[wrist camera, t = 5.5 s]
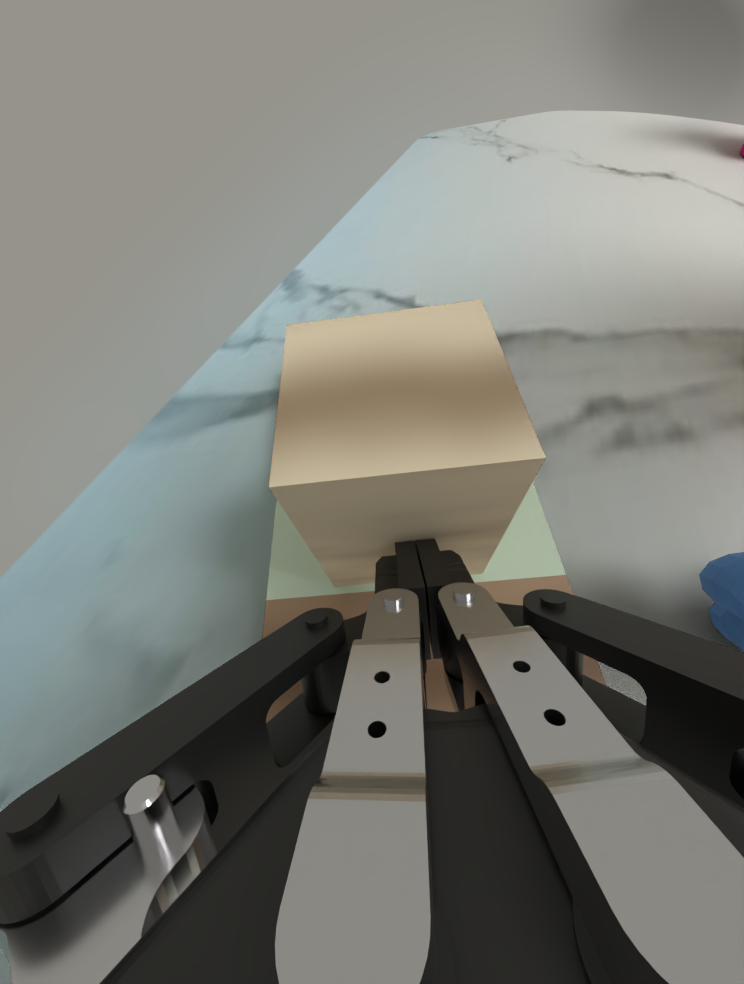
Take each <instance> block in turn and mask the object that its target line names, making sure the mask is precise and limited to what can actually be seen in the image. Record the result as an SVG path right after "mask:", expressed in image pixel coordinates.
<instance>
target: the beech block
mask: <svg viewBox="0 0 744 984" xmlns="http://www.w3.org/2000/svg"><path fill="white" fill-rule="evenodd" d="M545 458H546V457H545V455H544V452H543V450H542V447H541V445H540V442H539V440H538V438H537V435H536V433H535V430H534V428H533V425H532V423H531V420H530V418H529V415H528V413H527V410H526V408H525V406H524V403H523V401H522V398H521V396H520V393H519V391H518V388H517V386H516V383H515V381H514V378H513V376H512V374H511V371H510V369H509V366H508V364H507V361H506V359H505V356H504V354H503V351H502V349H501V346H500V344H499V342H498V339H497V337H496V334H495V332H494V329H493V327H492V324H491V322H490V319H489V317H488V314H487V312H486V310H485V307H484V305H483V302H482V300H474V301H467V302H459V303H451V304H444V305H436V306H428V307H421V308H413V309H406V310H398V311H390V312H383V313H375V314H367V315H360V316H352V317H344V318H337V319H329V320H322V321H314V322H306V323H299V324H291V325H287V328H286V337H285V346H284V355H283V364H282V373H281V382H280V391H279V400H278V409H277V418H276V427H275V436H274V445H273V454H272V463H271V472H270V480H269V489H270V490H271V492H272V493H273V495H274V496H275V498H276V499H277V501H278V502H279V504H280V505H281V507H282V508H283V510H284V511H285V513H286V514H287V516H288V517H289V519H290V520H291V522H292V523H293V525H294V526H295V528H296V529H297V531H298V532H299V534H300V535H301V537H302V538H303V540H304V541H305V543H306V544H307V546H308V547H309V549H310V550H311V552H312V553H313V555H314V556H315V558H316V559H317V561H318V562H319V564H320V566H321V567H322V569H323V570H324V572H325V573H326V575H327V576H328V578H329V579H330V581H331V582H332V584H333V585H334V587H341V586H352V585H363V584H374V583H375V572H376V562H377V561H378V560H379V559H380V558H381V557H382V556H391V555H396V552H395V542H403V541H413V540H414V544H415V540H423V539H434V538H435V540H436V542H437V545H438V547H439V550H440V551H444V550H452V551H454V552H455V553H457V554H459V555H460V557H461V558H462V560H463V563H464V564H465V566H466V568H467V570H468V572H469V573H470V575H473V574H483V572H484V570H485V569H486V567H487V565H488V563H489V561H490V559H491V558H492V556H493V554H494V552H495V550H496V548H497V547H498V545H499V543H500V541H501V539H502V537H503V535H504V534H505V532H506V530H507V528H508V526H509V524H510V523H511V521H512V519H513V517H514V515H515V513H516V512H517V510H518V508H519V506H520V504H521V502H522V501H523V499H524V497H525V495H526V493H527V491H528V489H529V488H530V486H531V484H532V482H533V480H534V478H535V477H536V475H537V473H538V471H539V469H540V467H541V466H542V464H543V462H544V460H545ZM415 548H416V547H415Z"/></svg>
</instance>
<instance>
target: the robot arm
mask: <svg viewBox="0 0 744 984" xmlns="http://www.w3.org/2000/svg"><path fill="white" fill-rule="evenodd" d="M415 547H416V548H415ZM395 552H396V555H391V556H382V557H381V558H380V559H379V560H378V561H377V562H376V572H375V595H373V596H372V597H371V599H370V601H369V604H368V609H367V611H366V612H365V613H363V614H361V615H359V616H356V617H353V618H350V619H346V620H343V616H342V614H341V613H340V612H339V611H338V610H336V609H333V608H316V609H312V610H309V611H307V612H304V613H302V614H301V615H299V616H298V617H296V618H294V619H293V620H291V621H290V622H288V623H287V624H285V625H284V626H282V627H281V628H279V629H277V630H276V631H274V632H273V633H271V634H270V635H268V636H267V637H265V638H263V639H262V640H260V641H259V642H257V643H256V644H254V645H253V646H251V647H250V648H248V649H246V650H245V651H243V652H242V653H240V654H239V655H237V656H236V657H234V658H233V659H231V660H229V661H228V662H226V663H225V664H223V665H222V666H220V667H219V668H217V669H215V670H214V671H212V672H211V673H209V674H208V675H206V676H205V677H203V678H202V679H200V680H198V681H197V682H195V683H194V684H192V685H191V686H189V687H188V688H186V689H185V690H183V691H181V692H180V693H178V694H177V695H175V696H174V697H172V698H171V699H169V700H167V701H166V702H164V703H163V704H161V705H160V706H158V707H157V708H155V709H154V710H152V711H150V712H149V713H147V714H146V715H144V716H143V717H141V718H140V719H138V720H137V721H135V722H133V723H132V724H130V725H129V726H127V727H126V728H124V729H123V730H121V731H119V732H118V733H116V734H115V735H113V736H112V737H110V738H109V739H107V740H106V741H104V742H102V743H101V744H99V745H98V746H96V747H95V748H93V749H92V750H90V751H89V752H87V753H85V754H84V755H82V756H81V757H79V758H78V759H76V760H75V761H73V762H71V763H70V764H68V765H67V766H65V767H64V768H62V769H61V770H59V771H58V772H56V773H54V774H53V775H51V776H50V777H48V778H47V779H45V780H44V781H42V782H41V783H39V784H37V785H36V786H34V787H33V788H31V789H30V790H28V791H27V792H25V793H24V794H22V795H21V796H20V797H18V798H17V799H16V800H14V801H13V802H12V803H11V804H9V805H8V806H7V807H6V808H5V809H4V810H3V811H1V812H0V947H1V949H2V950H3V952H4V954H5V956H6V958H7V960H8V962H9V963H10V968H11V978H12V984H744V653H743V652H740V651H737V650H734V649H731V648H728V647H725V646H722V645H719V644H716V643H713V642H710V641H707V640H705V639H702V638H699V637H696V636H693V635H690V634H687V633H684V632H681V631H678V630H675V629H672V628H669V627H666V626H663V625H660V624H657V623H654V622H651V621H649V620H646V619H643V618H640V617H637V616H634V615H631V614H628V613H625V612H622V611H619V610H616V609H613V608H610V607H607V606H604V605H601V604H598V603H595V602H593V601H590V600H587V599H584V598H581V597H578V596H575V595H572V594H569V593H566V592H563V591H558V590H552V589H539V590H534V591H531V592H529V593H527V594H526V595H525V596H524V597H523V606H522V605H512V604H503V603H499V602H495V600H494V599H493V598H492V596H491V595H490V593H489V592H488V591H487V590H486V589H485V588H483V587H482V586H479V585H477V584H475V583H474V581H473V579H472V577H471V575H470V573H469V572H468V570H467V568H466V566H465V564H464V563H463V560H462V558H461V557H460V555H459V554H457V553H455V552H454V551H452V550H444V551H440V550H439V547H438V545H437V542H436V540H435V538H434V539H423V540H415V544H414V540H413V541H403V542H395ZM430 644H431V649H432V654H433V659H441V658H442V660H443V666H444V679H445V683H446V686H447V689H448V692H449V695H450V698H451V701H452V704H453V707H454V710H455V712H447V711H440V710H434V709H428V706H427V690H426V677H425V674H426V671H427V663H426V660H430V659H431V651H430ZM584 655H586V656H588V657H590V658H593V659H595V660H597V661H599V662H601V663H603V664H606V665H608V666H610V667H612V668H614V669H617V670H619V671H621V672H623V673H625V674H627V675H629V676H631V677H632V678H634V679H635V680H636V681H637V682H638V683H639V684H640V685H641V686H642V687H643V689H644V691H645V693H646V696H647V703H646V706H645V705H643V704H641V703H639V702H637V701H635V700H633V699H631V698H629V697H627V696H625V695H623V694H621V693H619V692H617V691H615V690H613V689H611V688H609V687H607V686H605V685H603V684H601V683H599V682H597V681H595V680H593V679H591V678H589V677H587V676H585V675H583V657H584ZM300 680H301V684H302V689H303V692H302V693H301V694H300V695H299V696H298V697H296V698H295V699H294V700H293V701H292V702H291V703H289V704H288V705H287V706H286V707H285V708H284V709H282V710H281V711H280V712H279V713H278V714H277V715H275V716H274V717H273V718H272V719H271V720H270V721H268V722H267V723H266V717H267V714H268V711H269V709H270V707H271V705H272V704H273V703H274V702H275V700H277V699H278V698H279V697H280V696H281V695H282V694H284V693H285V692H286V691H287V690H289V689H290V688H291V687H292V686H293V685H295V684H296V683H297V682H298V681H300Z"/></svg>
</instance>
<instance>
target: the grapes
mask: <svg viewBox="0 0 744 984" xmlns="http://www.w3.org/2000/svg"><path fill="white" fill-rule="evenodd" d="M699 575H700V580H701V585H702V589H703V590H704V591H705V592H706V594H707V595H708V596H709V597H710V598H711V599H712V600H713V601H714V602H715V603H714V604H713V605H712V606H711V607H710V609H709V611H710V616H711V620H712V624H713V625H714V626H715V627H716V628H717V630H718V631H719V632H720V633H721V634H722V635H723V636H724V637H725V638H726V639H727V640H729V641H730V642H731V643H733V644H734V645H736V646H737V647H738V648H740V649H741V650H743V651H744V552H740V553H733V554H728V555H725V556H723V557H720V558H718V559H715V560H713V561H710V562H709V563H708V564H707V565H706V567H705V568H704V569H703V570H702V572H701V573H700V574H699Z"/></svg>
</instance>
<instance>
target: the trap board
mask: <svg viewBox="0 0 744 984" xmlns="http://www.w3.org/2000/svg"><path fill="white" fill-rule="evenodd" d="M475 584H477V585H479V586H482V587H483V588H485V589H486V590H487V591H488V592H489V593H490V595H491V596H492V598H493V599H494V600H495V602H499V603H503V604H512V605H522V606H523V597H524V596H525V595H526V594H527V593H529V592H531V591H534V590H539V589H552V590H558V591H563V592H566V593H569V594H572V595H573V592H572V589H571V587H570V584H569V581H568V578H567V575H557V576H546V577H534V578H523V579H510V580H498V581H487V582H475ZM373 595H375V591H369V592H357V593H345V594H334V595H322V596H310V597H298V598H286V599H275V600H266V606H265V616H264V626H263V636H262V639H263V638H265V637H267V636H268V635H270V634H271V633H273V632H274V631H276V630H277V629H279V628H281V627H282V626H284V625H285V624H287V623H288V622H290V621H291V620H293V619H294V618H296V617H298V616H299V615H301V614H302V613H304V612H307V611H309V610H312V609H316V608H333V609H336V610H338V611H339V612H340V613H341V614H342V616H343V620H346V619H350V618H353V617H356V616H359V615H361V614H363V613H365V612H366V611H367V609H368V604H369V601H370V599H371V597H372V596H373ZM430 651H431V659H430V660H426V663H427V671H426V674H425V677H426V690H427V706H428V709H434V710H440V711H447V712H455V710H454V707H453V704H452V701H451V698H450V695H449V692H448V689H447V686H446V683H445V679H444V666H443V660H442V658H441V659H433V654H432V649H431V644H430ZM583 675H585V676H587V677H589V678H591V679H593V680H595V681H597V682H599V683H601V684H603V685H605V686H606V684H605V681H604V678H603V676H602V673H601V670H600V667H599V665H598V662H597V660H595V659H593V658H590V657H588V656H586V655H584V657H583ZM302 692H303V689H302V684H301V680H300V681H298V682H297V683H296V684H295V685H293V686H292V687H291V688H290V689H289V690H287V691H286V692H285V693H284V694H282V695H281V696H280V697H279V698H278V699H277V700H275V702H274V703H273V704H272V705H271V707H270V709H269V711H268V714H267V717H266V723H267V722H268V721H270V720H271V719H272V718H273V717H274V716H275V715H277V714H278V713H279V712H280V711H281V710H282V709H284V708H285V707H286V706H287V705H288V704H289V703H291V702H292V701H293V700H294V699H295V698H296V697H298V696H299V695H300V694H301V693H302Z"/></svg>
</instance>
